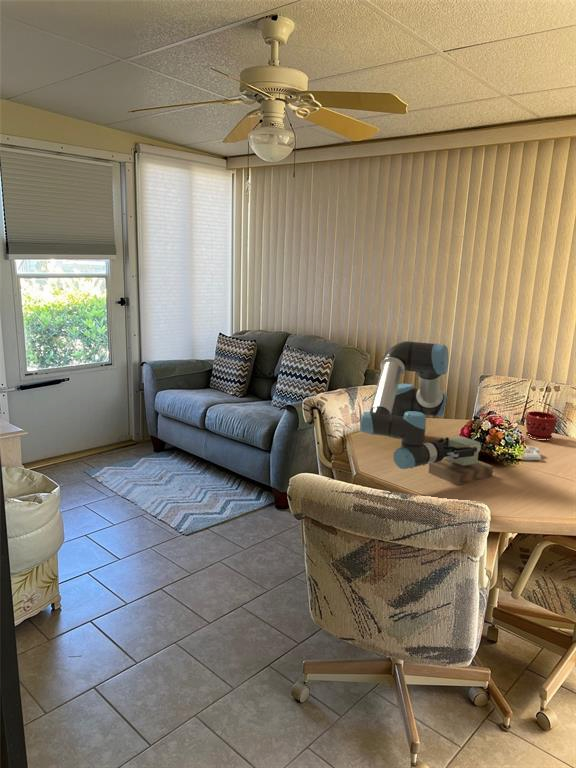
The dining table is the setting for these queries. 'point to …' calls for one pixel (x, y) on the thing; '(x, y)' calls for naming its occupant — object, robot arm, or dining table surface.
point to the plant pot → (540, 424)
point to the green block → (463, 443)
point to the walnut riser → (460, 471)
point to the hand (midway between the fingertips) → (470, 444)
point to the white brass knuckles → (531, 453)
